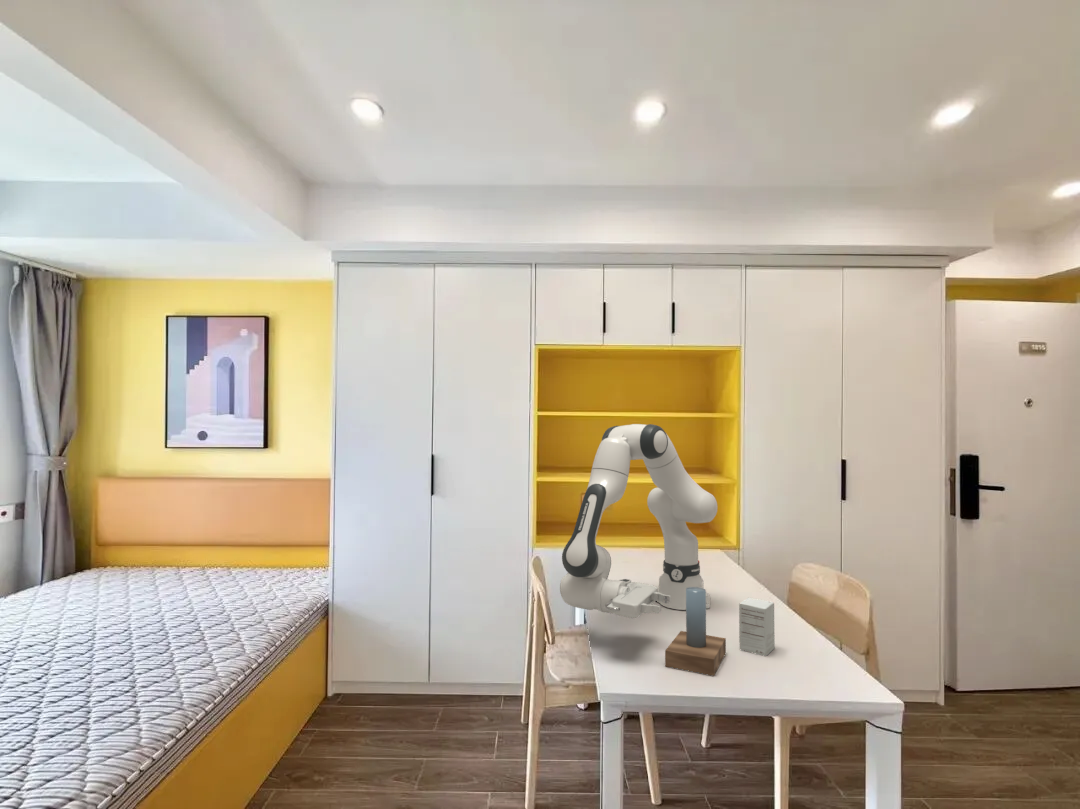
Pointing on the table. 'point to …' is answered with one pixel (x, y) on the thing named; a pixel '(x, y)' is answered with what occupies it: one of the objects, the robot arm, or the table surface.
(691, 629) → the slate cylinder
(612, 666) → the table surface
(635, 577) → the table surface
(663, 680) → the table surface
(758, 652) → the supplement box
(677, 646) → the plate
